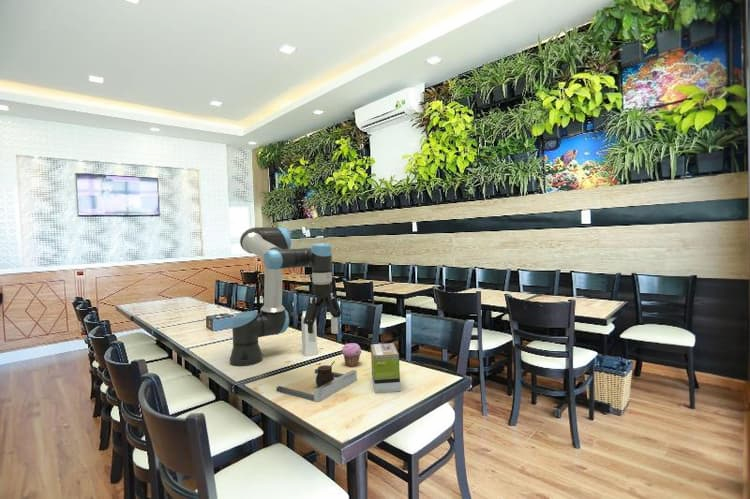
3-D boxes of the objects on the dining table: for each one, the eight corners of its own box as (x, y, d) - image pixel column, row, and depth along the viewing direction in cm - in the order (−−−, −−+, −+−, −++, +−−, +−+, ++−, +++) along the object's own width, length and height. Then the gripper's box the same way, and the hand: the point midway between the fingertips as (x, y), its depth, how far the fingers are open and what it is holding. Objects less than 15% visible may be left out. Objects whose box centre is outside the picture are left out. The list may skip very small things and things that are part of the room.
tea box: (371, 379, 162) (370, 343, 162) (395, 377, 163) (394, 342, 163) (374, 393, 147) (373, 354, 147) (400, 392, 148) (399, 353, 148)
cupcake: (338, 365, 181) (337, 343, 180) (352, 360, 187) (351, 339, 187) (351, 369, 175) (351, 347, 174) (365, 364, 181) (364, 342, 181)
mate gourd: (313, 385, 156) (312, 360, 156) (332, 382, 159) (331, 358, 159) (318, 392, 150) (317, 366, 149) (337, 388, 153) (336, 363, 152)
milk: (302, 353, 201) (300, 310, 200) (313, 351, 204) (312, 309, 203) (305, 356, 195) (304, 312, 195) (317, 354, 198) (315, 310, 197)
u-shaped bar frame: (276, 391, 152) (276, 380, 152) (317, 372, 172) (316, 363, 172) (318, 402, 141) (318, 391, 141) (356, 380, 161) (356, 370, 161)
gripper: (308, 287, 140) (309, 346, 141) (349, 280, 162) (350, 331, 162) (292, 286, 144) (294, 344, 145) (334, 279, 166) (335, 329, 166)
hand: (323, 337), depth 154 cm, fingers open, 13 cm apart
